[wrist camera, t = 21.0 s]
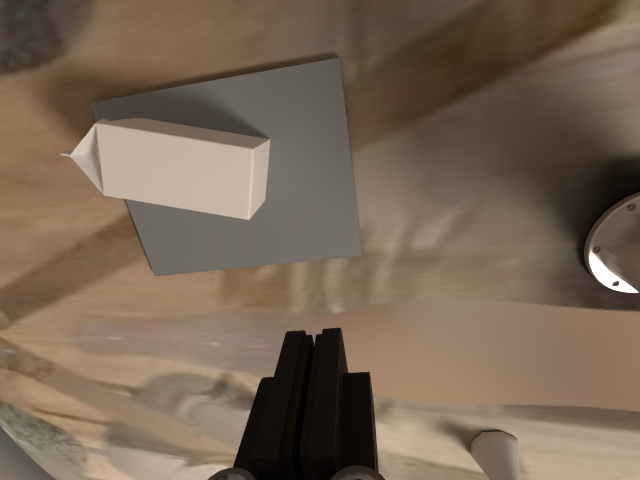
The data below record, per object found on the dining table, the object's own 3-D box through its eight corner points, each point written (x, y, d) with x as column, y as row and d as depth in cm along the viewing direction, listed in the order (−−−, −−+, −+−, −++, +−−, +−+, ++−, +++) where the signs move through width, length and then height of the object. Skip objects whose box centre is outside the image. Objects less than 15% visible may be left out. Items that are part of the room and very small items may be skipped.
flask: (463, 455, 56) (484, 526, 47) (477, 425, 53) (503, 495, 44) (507, 463, 56) (537, 536, 47) (524, 434, 53) (560, 505, 44)
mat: (339, 58, 35) (339, 57, 34) (362, 252, 43) (362, 255, 42) (93, 102, 39) (88, 102, 38) (157, 273, 47) (154, 276, 46)
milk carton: (250, 221, 34) (65, 189, 34) (266, 200, 41) (110, 174, 41) (255, 148, 31) (53, 115, 32) (272, 139, 38) (104, 111, 38)
